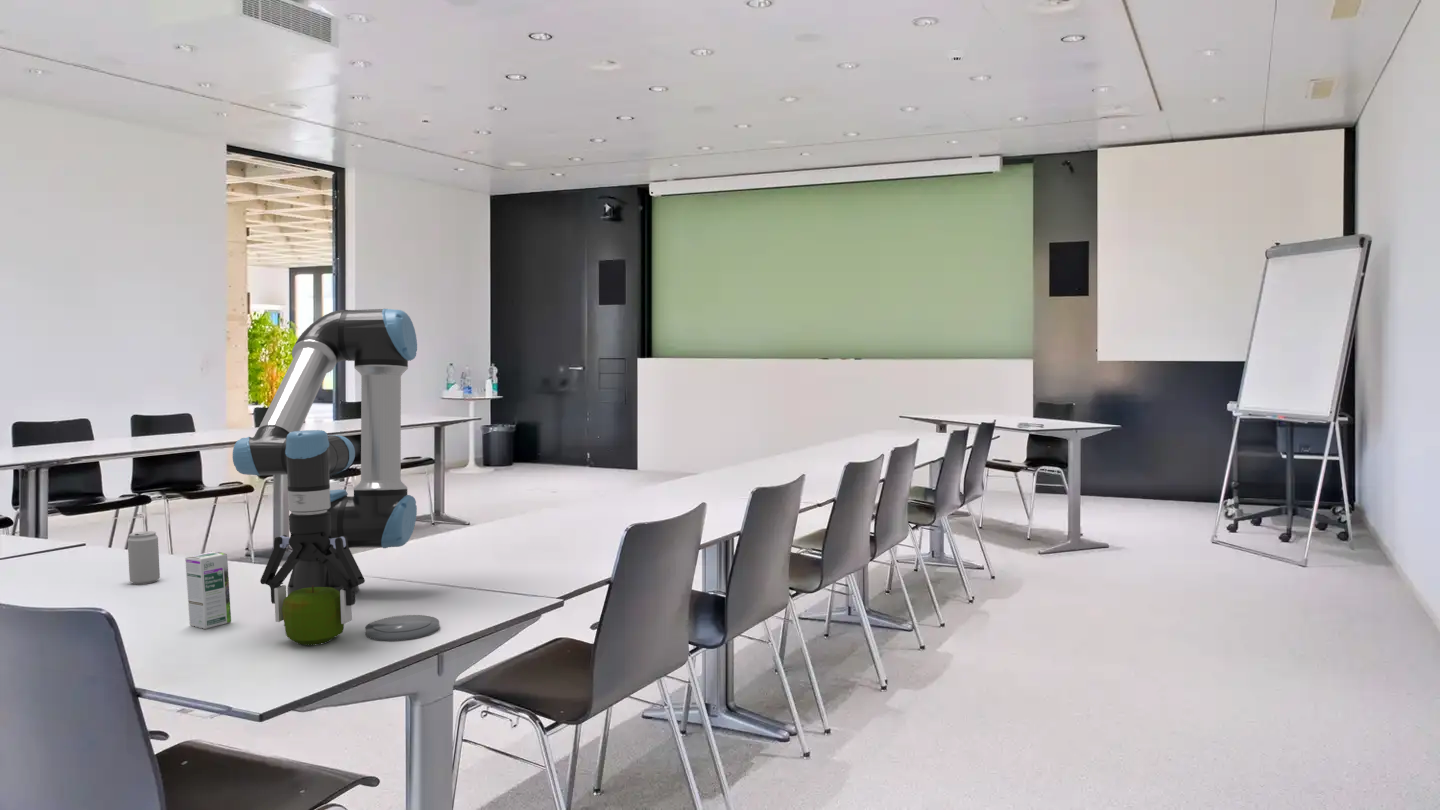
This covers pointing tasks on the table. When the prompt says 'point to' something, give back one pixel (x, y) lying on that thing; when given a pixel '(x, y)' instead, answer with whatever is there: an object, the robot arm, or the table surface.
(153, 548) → the beverage can
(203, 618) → the syrup box
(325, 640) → the apple
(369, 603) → the table surface
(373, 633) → the slate plate
